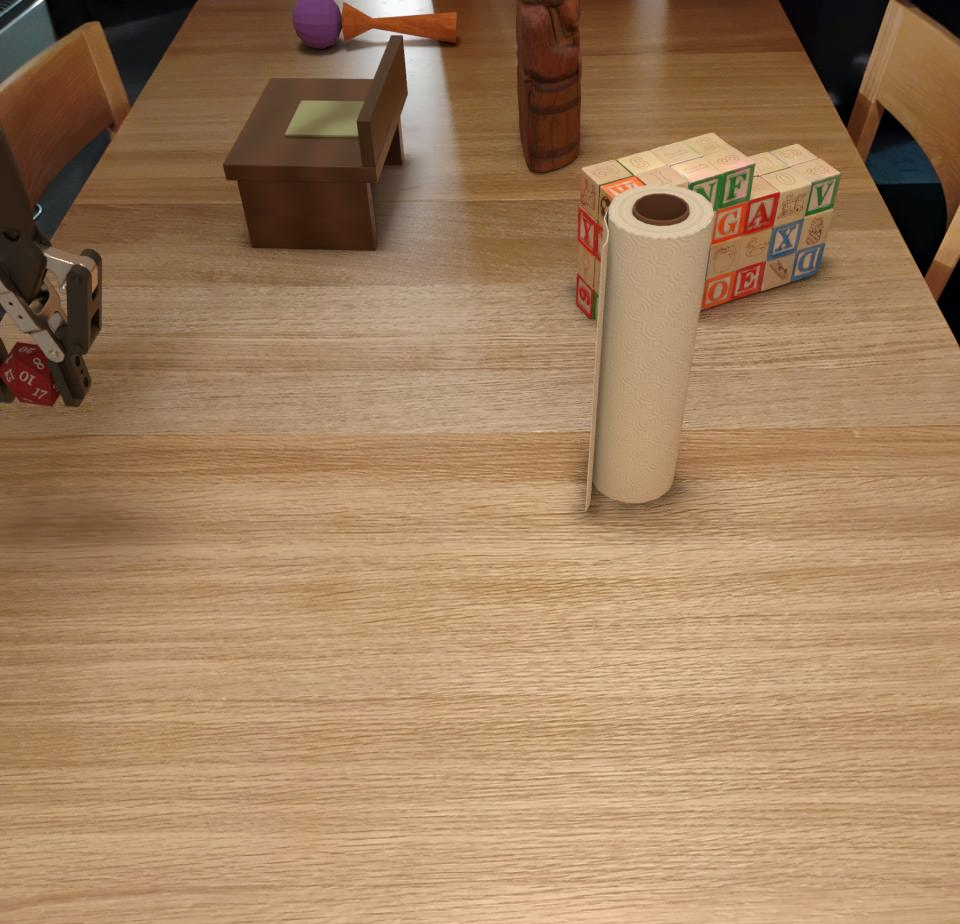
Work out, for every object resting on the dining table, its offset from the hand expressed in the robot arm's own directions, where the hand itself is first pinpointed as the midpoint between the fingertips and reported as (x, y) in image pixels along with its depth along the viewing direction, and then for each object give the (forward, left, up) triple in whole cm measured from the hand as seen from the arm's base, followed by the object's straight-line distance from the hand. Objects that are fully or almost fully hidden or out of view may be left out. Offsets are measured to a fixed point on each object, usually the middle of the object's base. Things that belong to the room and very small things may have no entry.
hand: (43, 396), depth 66 cm
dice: (0, 0, 0) cm, 0 cm away
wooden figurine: (+29, +57, -11) cm, 65 cm away
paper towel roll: (+38, +5, -11) cm, 40 cm away
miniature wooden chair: (+8, +45, -10) cm, 47 cm away
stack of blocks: (+44, +31, -11) cm, 55 cm away
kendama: (+6, +83, -11) cm, 84 cm away
